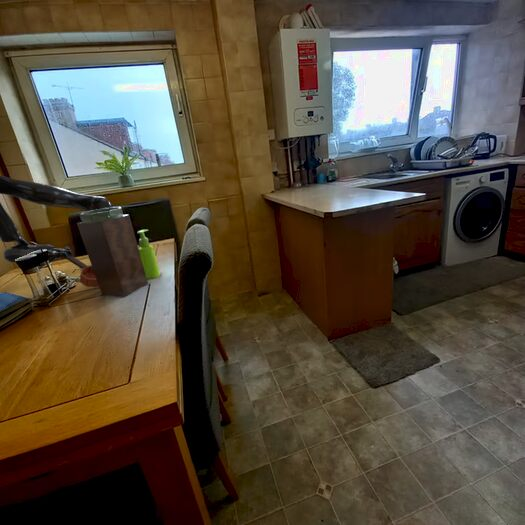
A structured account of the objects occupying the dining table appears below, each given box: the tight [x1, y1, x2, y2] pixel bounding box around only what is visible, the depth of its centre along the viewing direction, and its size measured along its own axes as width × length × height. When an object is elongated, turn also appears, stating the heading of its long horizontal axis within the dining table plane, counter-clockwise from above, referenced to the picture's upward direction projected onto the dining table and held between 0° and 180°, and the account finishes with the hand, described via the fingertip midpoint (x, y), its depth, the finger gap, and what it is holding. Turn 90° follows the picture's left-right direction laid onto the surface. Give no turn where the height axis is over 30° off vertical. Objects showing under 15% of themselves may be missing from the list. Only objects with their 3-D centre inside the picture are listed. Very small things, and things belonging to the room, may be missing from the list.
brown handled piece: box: [62, 251, 99, 288], centre depth 114 cm, size 9×21×4 cm
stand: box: [76, 206, 149, 298], centre depth 104 cm, size 13×13×31 cm
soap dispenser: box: [137, 228, 161, 280], centre depth 116 cm, size 6×7×20 cm
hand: (69, 254), depth 114 cm, fingers closed on brown handled piece, 2 cm apart
